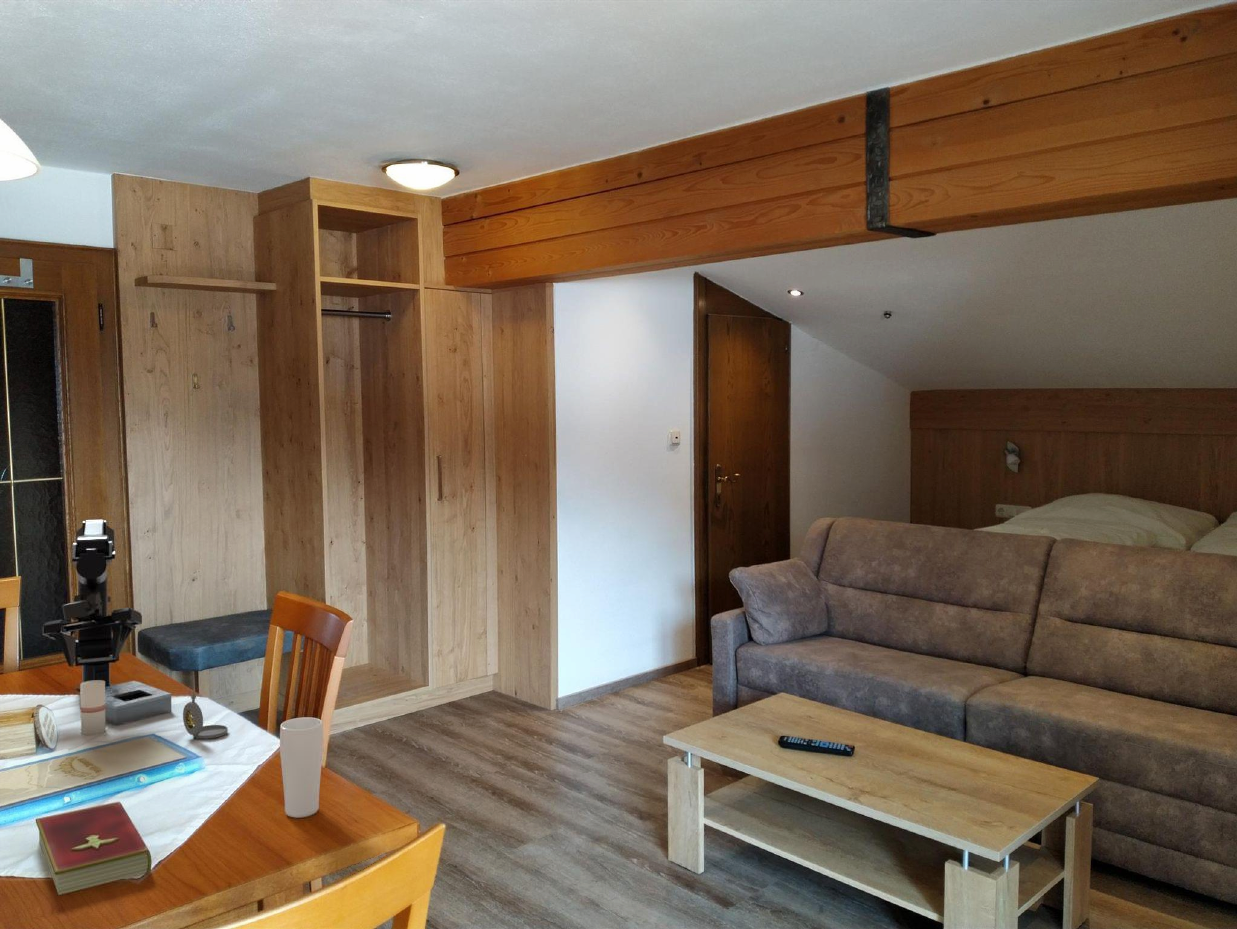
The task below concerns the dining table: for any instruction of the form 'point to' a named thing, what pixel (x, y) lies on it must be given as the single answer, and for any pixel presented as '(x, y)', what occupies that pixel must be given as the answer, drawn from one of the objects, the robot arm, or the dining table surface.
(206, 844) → the dining table surface
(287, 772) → the drinking glass
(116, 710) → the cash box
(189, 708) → the pocket watch
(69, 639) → the robot arm
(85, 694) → the coin roll
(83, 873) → the hardcover book
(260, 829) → the dining table surface
